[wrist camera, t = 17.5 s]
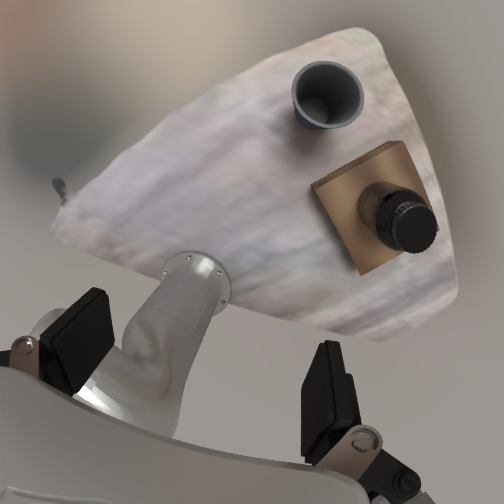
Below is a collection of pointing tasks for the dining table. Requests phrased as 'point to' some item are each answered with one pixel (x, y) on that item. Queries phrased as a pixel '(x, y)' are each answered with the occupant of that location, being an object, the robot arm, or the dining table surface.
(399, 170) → the walnut block
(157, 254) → the dining table surface
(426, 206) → the supplement bottle
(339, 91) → the cup
